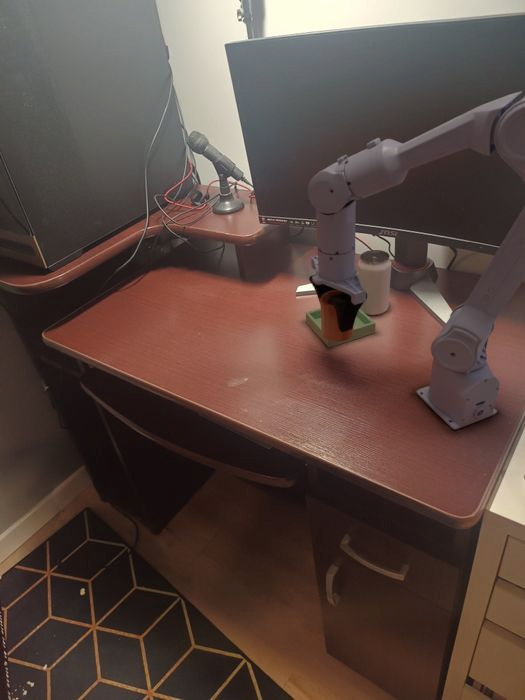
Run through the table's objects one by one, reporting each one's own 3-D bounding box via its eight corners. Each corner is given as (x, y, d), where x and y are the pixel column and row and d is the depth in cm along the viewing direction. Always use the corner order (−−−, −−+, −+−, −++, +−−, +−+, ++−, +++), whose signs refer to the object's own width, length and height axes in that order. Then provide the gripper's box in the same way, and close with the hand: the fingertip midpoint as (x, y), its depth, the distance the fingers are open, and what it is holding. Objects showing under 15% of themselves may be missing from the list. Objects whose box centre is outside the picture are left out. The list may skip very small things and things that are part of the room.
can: (386, 299, 100) (389, 248, 93) (390, 315, 95) (393, 262, 88) (356, 300, 101) (356, 249, 94) (358, 316, 96) (359, 264, 89)
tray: (375, 332, 91) (375, 322, 89) (328, 348, 88) (328, 337, 87) (349, 309, 98) (349, 299, 97) (306, 322, 96) (305, 312, 95)
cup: (359, 336, 78) (359, 300, 74) (330, 345, 77) (329, 310, 73) (343, 320, 83) (343, 286, 78) (316, 329, 81) (314, 295, 77)
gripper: (293, 237, 75) (298, 307, 83) (335, 272, 64) (336, 350, 72) (331, 226, 77) (333, 297, 85) (379, 259, 66) (376, 337, 74)
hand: (337, 320), depth 79 cm, fingers closed on cup, 5 cm apart
